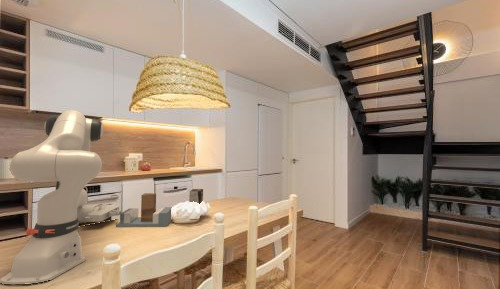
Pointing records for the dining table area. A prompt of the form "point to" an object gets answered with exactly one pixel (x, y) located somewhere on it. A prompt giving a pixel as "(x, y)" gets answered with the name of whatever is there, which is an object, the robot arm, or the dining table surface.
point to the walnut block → (148, 207)
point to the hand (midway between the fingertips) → (120, 213)
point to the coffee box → (196, 195)
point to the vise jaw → (129, 215)
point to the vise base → (161, 220)
